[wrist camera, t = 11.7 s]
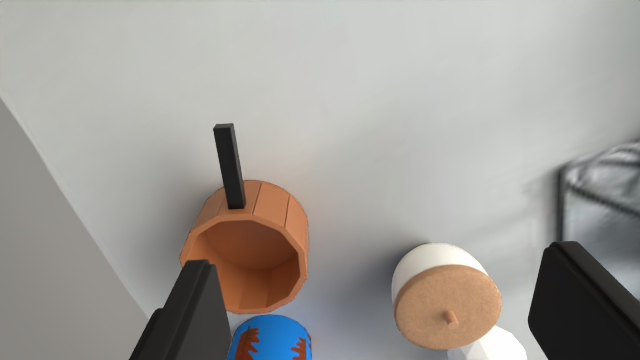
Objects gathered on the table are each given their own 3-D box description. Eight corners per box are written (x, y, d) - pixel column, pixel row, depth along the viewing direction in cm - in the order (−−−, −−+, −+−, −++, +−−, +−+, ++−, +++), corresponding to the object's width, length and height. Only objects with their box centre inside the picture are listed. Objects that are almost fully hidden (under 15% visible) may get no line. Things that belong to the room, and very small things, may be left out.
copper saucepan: (174, 111, 38) (146, 135, 32) (297, 104, 38) (293, 127, 31) (211, 272, 46) (195, 316, 40) (311, 267, 46) (310, 311, 40)
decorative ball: (499, 348, 56) (500, 436, 46) (438, 308, 55) (427, 388, 46) (550, 324, 50) (562, 419, 41) (482, 279, 50) (480, 365, 40)
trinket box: (389, 304, 49) (403, 370, 40) (378, 234, 44) (392, 292, 36) (475, 291, 48) (509, 356, 39) (473, 218, 43) (511, 273, 35)
